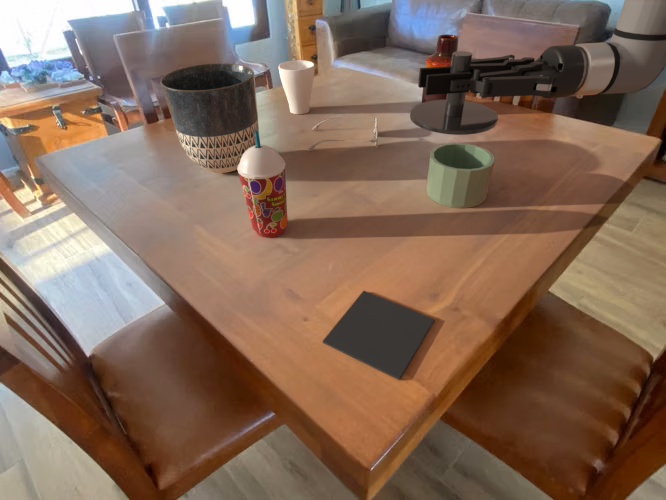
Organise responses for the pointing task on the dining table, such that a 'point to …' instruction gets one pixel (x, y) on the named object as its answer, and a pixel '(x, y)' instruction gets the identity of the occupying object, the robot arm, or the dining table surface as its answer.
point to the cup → (297, 84)
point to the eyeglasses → (342, 140)
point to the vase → (441, 60)
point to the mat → (380, 333)
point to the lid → (455, 108)
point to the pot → (459, 174)
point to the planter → (213, 112)
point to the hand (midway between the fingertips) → (423, 81)
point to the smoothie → (264, 188)
